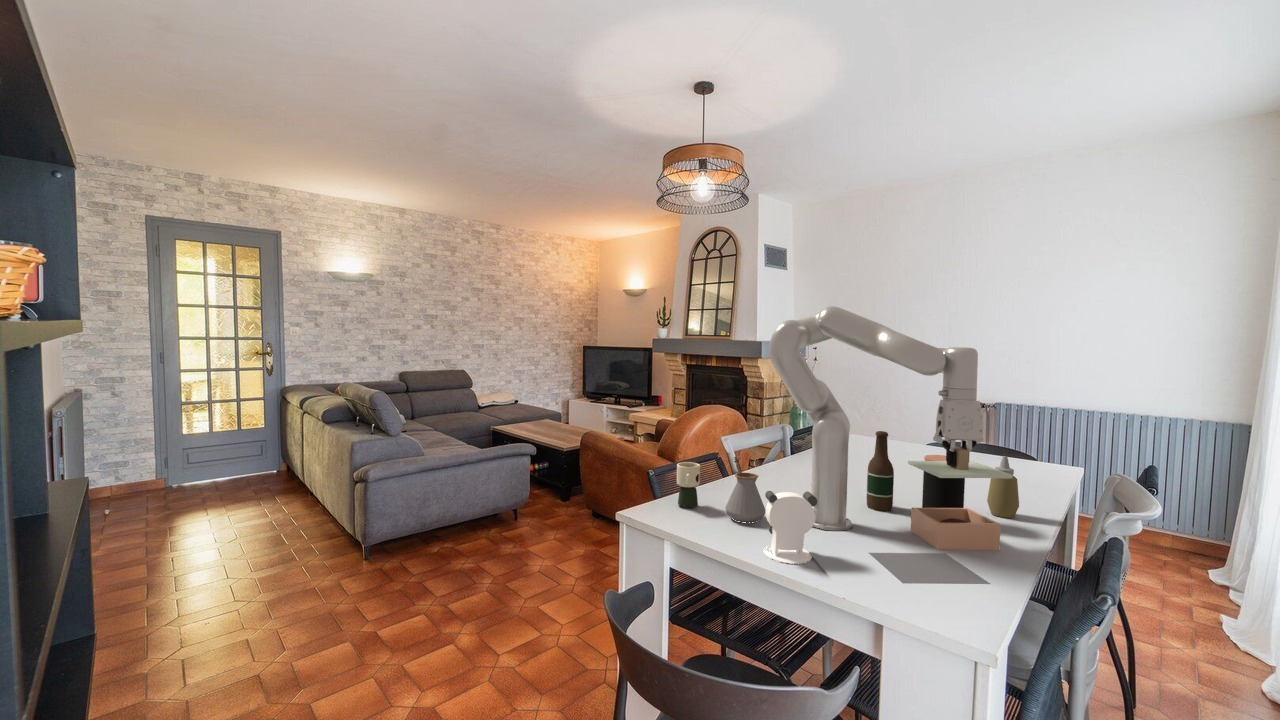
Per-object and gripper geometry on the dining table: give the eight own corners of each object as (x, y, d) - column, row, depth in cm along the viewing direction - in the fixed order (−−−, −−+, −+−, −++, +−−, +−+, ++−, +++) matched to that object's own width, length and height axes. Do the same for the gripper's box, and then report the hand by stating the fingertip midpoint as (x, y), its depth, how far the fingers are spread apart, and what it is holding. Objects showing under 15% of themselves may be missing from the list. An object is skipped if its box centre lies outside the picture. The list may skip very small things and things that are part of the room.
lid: (940, 477, 129) (941, 454, 129) (907, 463, 144) (908, 442, 144) (1012, 478, 130) (1013, 454, 129) (972, 464, 145) (973, 442, 144)
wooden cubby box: (937, 551, 131) (938, 523, 131) (910, 532, 144) (911, 507, 144) (999, 551, 132) (1000, 524, 132) (966, 533, 144) (967, 508, 144)
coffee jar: (952, 514, 161) (954, 455, 160) (970, 526, 150) (973, 463, 150) (915, 512, 162) (917, 454, 161) (931, 524, 151) (933, 462, 151)
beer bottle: (861, 504, 169) (863, 429, 168) (884, 503, 170) (887, 429, 169) (873, 511, 162) (876, 433, 161) (898, 511, 162) (901, 434, 161)
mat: (902, 585, 112) (902, 582, 112) (868, 555, 128) (868, 552, 128) (990, 586, 113) (990, 583, 113) (945, 555, 129) (945, 553, 129)
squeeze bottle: (987, 509, 166) (989, 452, 166) (1018, 514, 161) (1021, 456, 161) (985, 515, 160) (988, 456, 159) (1018, 521, 155) (1021, 460, 154)
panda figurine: (805, 545, 134) (807, 487, 133) (821, 564, 122) (823, 500, 122) (758, 545, 133) (759, 486, 133) (770, 564, 122) (772, 500, 121)
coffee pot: (770, 526, 147) (771, 473, 147) (729, 526, 147) (730, 472, 146) (751, 502, 168) (753, 456, 168) (716, 502, 168) (717, 455, 168)
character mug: (699, 512, 158) (700, 469, 157) (675, 511, 159) (676, 468, 158) (699, 501, 169) (699, 461, 168) (676, 500, 169) (677, 460, 169)
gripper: (937, 396, 132) (935, 469, 133) (1000, 396, 133) (998, 469, 133) (920, 393, 140) (918, 462, 141) (980, 393, 140) (978, 462, 141)
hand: (957, 465), depth 137 cm, fingers closed on lid, 2 cm apart
